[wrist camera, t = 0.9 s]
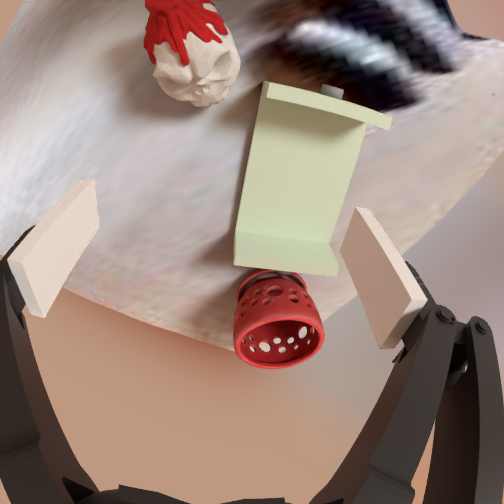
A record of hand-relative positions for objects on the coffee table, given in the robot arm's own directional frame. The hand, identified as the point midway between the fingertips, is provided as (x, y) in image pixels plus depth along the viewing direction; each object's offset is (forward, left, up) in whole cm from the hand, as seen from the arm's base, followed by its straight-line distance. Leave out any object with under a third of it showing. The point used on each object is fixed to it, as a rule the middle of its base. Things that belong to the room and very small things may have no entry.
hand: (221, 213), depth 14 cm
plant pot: (+26, +11, -25) cm, 38 cm away
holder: (+5, +10, -25) cm, 27 cm away
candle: (-6, -4, -25) cm, 26 cm away
